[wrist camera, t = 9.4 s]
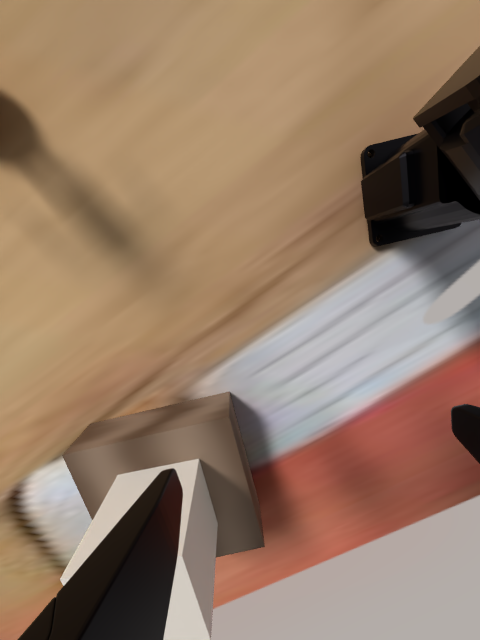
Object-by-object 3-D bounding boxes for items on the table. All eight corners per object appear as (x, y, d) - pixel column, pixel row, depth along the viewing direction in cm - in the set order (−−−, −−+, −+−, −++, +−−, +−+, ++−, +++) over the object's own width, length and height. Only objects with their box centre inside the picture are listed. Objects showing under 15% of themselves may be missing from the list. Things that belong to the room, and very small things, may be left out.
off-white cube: (199, 458, 17) (181, 555, 12) (217, 523, 19) (210, 640, 13) (117, 474, 18) (60, 579, 12) (141, 538, 19) (100, 660, 13)
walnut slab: (229, 388, 21) (229, 416, 17) (258, 499, 23) (264, 546, 19) (93, 419, 21) (62, 455, 17) (138, 526, 24) (119, 578, 20)
